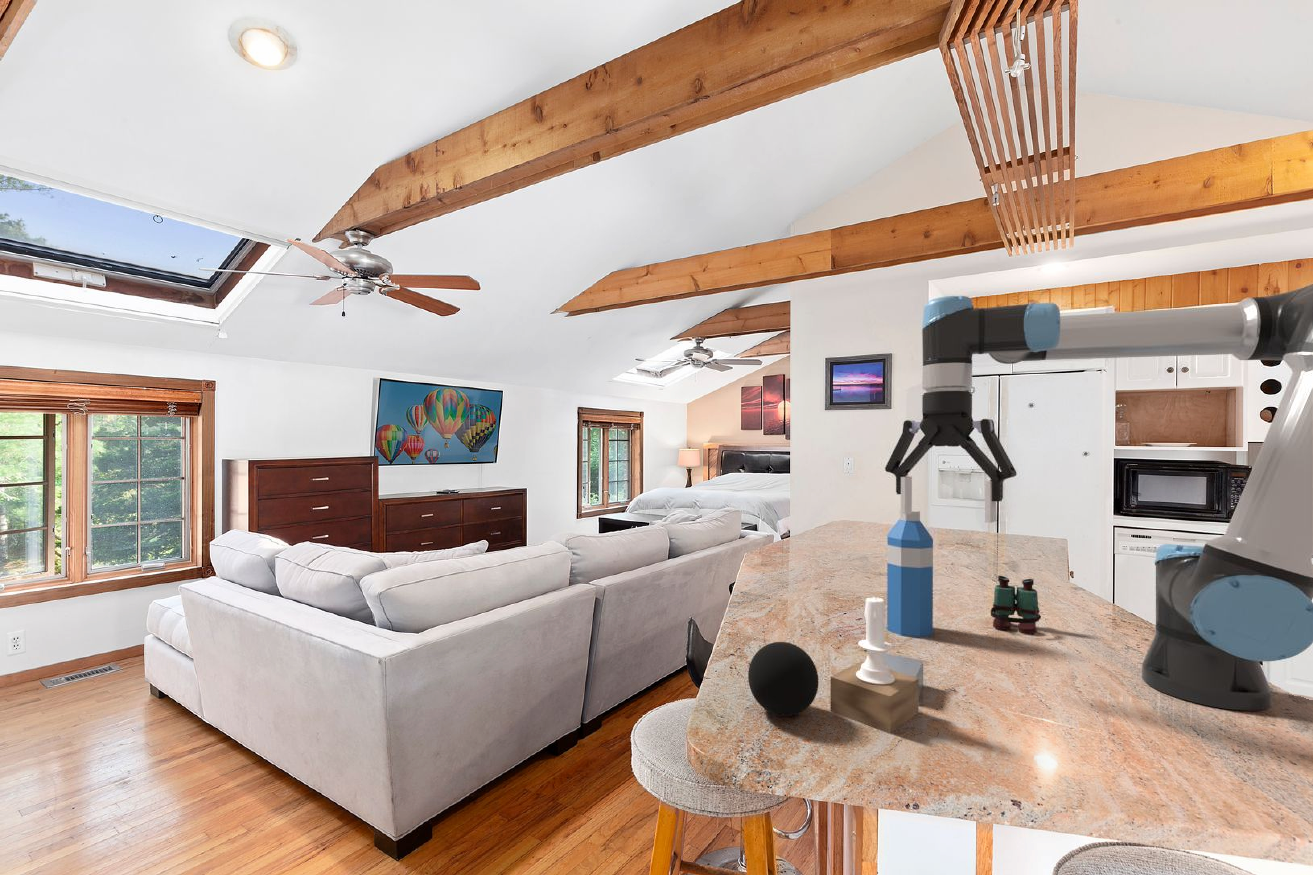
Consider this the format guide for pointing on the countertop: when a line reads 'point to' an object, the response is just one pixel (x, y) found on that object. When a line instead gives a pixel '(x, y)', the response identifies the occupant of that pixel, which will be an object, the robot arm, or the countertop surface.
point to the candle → (875, 645)
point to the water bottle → (910, 577)
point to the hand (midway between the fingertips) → (946, 517)
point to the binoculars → (1015, 606)
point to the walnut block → (875, 699)
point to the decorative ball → (783, 678)
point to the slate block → (905, 666)
